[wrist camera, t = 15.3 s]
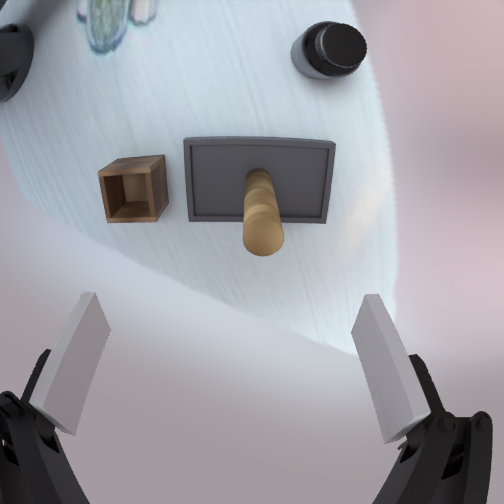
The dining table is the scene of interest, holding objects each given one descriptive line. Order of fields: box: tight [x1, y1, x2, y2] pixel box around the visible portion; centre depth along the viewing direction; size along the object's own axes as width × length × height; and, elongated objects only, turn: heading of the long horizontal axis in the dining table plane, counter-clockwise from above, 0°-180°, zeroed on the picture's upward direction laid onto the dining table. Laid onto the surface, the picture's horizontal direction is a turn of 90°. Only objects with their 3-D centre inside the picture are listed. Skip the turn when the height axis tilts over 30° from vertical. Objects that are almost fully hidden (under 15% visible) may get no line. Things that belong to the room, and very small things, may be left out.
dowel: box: [243, 168, 284, 256], centre depth 32 cm, size 4×4×16 cm
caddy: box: [98, 155, 169, 223], centre depth 36 cm, size 7×7×6 cm
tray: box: [183, 136, 336, 224], centre depth 38 cm, size 20×12×2 cm, turn 89°
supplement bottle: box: [291, 21, 367, 79], centre depth 24 cm, size 7×7×12 cm
